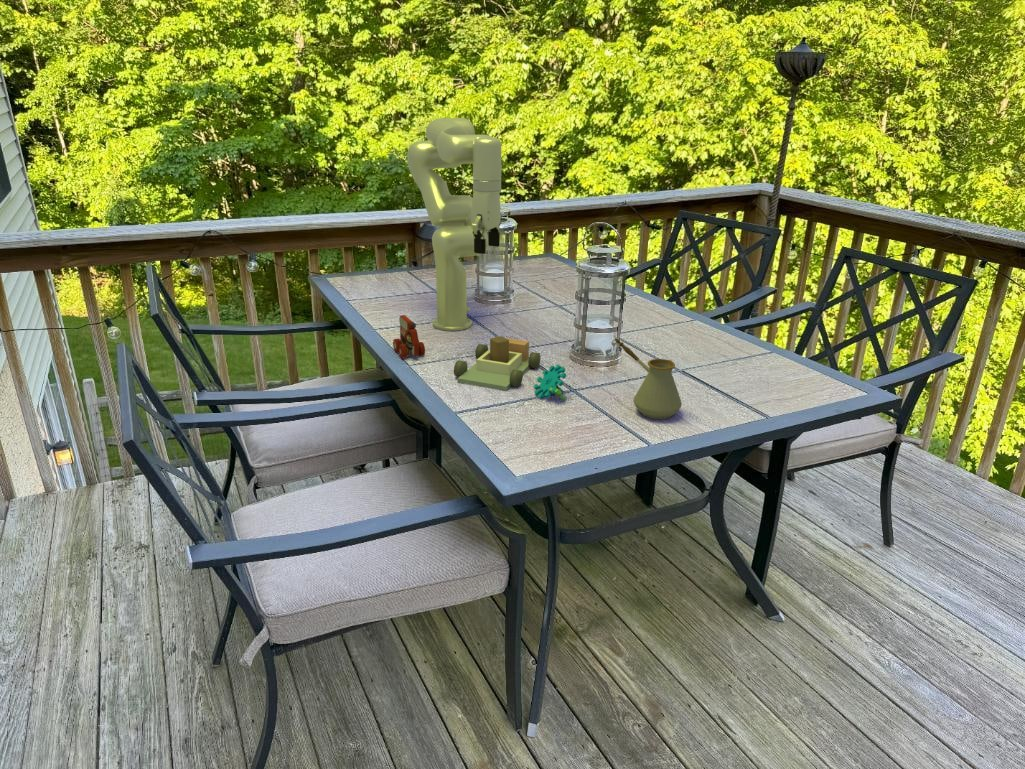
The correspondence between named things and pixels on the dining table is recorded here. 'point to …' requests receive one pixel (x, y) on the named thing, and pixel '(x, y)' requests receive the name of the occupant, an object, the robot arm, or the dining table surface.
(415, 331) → the red toy vehicle
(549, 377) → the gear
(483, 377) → the chassis
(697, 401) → the dining table surface
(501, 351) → the wooden block
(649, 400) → the coffee pot
